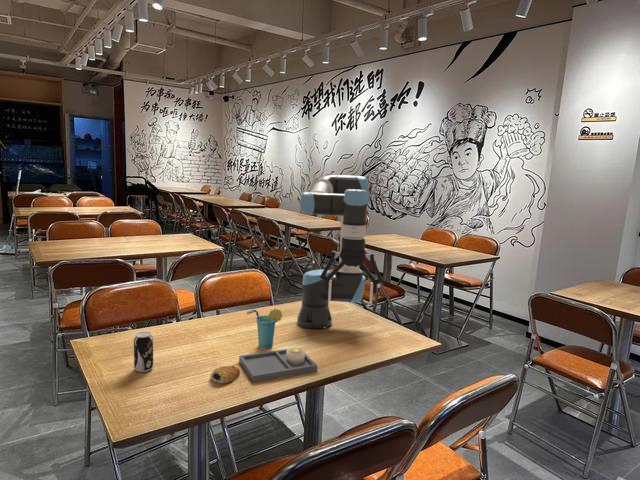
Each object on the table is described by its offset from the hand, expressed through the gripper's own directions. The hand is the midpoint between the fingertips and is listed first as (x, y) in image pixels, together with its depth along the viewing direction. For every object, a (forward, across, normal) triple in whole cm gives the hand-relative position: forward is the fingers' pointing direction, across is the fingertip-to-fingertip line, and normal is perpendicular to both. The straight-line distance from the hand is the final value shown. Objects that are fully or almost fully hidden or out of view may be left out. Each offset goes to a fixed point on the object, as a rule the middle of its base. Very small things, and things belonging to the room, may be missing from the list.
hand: (350, 301), depth 146 cm
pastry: (+24, -38, -13) cm, 47 cm away
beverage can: (+24, -65, -12) cm, 70 cm away
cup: (+24, -31, +14) cm, 42 cm away
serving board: (+24, -23, -2) cm, 33 cm away
